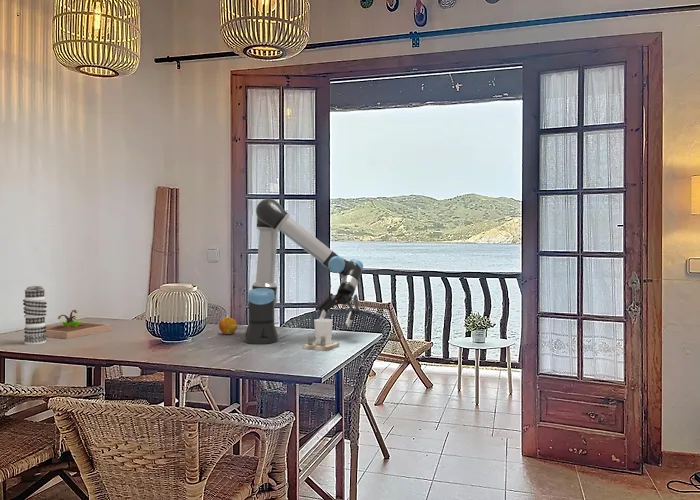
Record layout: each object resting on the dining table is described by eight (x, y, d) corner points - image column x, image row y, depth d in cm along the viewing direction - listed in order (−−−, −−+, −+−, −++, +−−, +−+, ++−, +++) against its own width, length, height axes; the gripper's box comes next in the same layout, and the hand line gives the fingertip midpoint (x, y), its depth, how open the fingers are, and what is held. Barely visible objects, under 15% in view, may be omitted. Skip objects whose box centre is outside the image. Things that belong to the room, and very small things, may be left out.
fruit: (234, 335, 267) (234, 318, 267) (217, 335, 267) (216, 318, 267) (238, 332, 276) (238, 316, 275) (221, 332, 276) (221, 316, 275)
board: (302, 348, 236) (302, 335, 236) (314, 344, 246) (314, 331, 246) (327, 350, 231) (327, 337, 231) (339, 346, 241) (339, 333, 241)
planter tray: (30, 334, 268) (30, 328, 268) (75, 327, 291) (75, 321, 291) (67, 338, 258) (67, 332, 258) (110, 330, 281) (110, 324, 281)
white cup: (330, 345, 236) (330, 321, 235) (312, 344, 237) (312, 321, 237) (334, 341, 243) (334, 318, 243) (316, 341, 245) (316, 318, 245)
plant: (101, 332, 279) (101, 309, 278) (63, 337, 262) (63, 314, 262) (79, 328, 290) (79, 306, 289) (40, 333, 274) (40, 310, 273)
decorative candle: (20, 342, 248) (19, 286, 247) (43, 340, 255) (42, 285, 254) (27, 345, 242) (26, 287, 241) (50, 342, 249) (49, 286, 248)
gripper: (374, 293, 260) (361, 331, 247) (326, 291, 271) (311, 327, 257) (369, 283, 255) (356, 320, 242) (321, 281, 266) (305, 317, 252)
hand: (333, 324), depth 250 cm, fingers open, 13 cm apart
